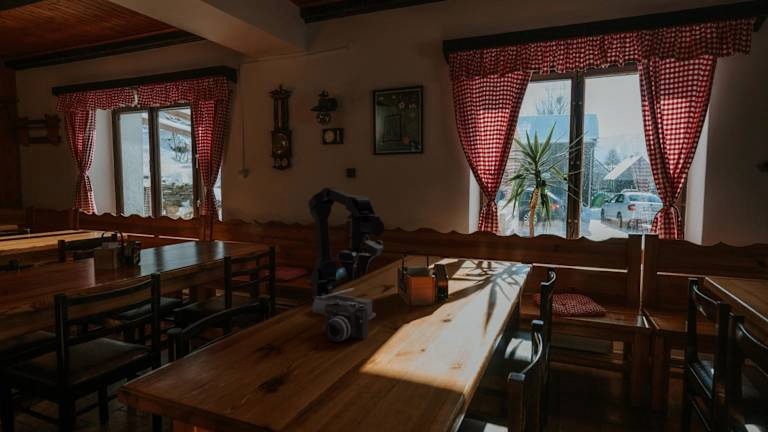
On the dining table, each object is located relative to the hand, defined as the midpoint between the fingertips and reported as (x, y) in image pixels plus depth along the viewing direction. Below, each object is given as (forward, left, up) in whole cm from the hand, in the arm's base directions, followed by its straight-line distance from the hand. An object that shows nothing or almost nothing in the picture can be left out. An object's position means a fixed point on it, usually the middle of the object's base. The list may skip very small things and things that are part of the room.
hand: (357, 277), depth 157 cm
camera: (+9, -24, -13) cm, 29 cm away
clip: (+4, -3, -11) cm, 12 cm away
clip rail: (+4, -3, -12) cm, 13 cm away
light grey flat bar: (-7, -3, -6) cm, 10 cm away
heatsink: (-7, -3, -12) cm, 15 cm away
